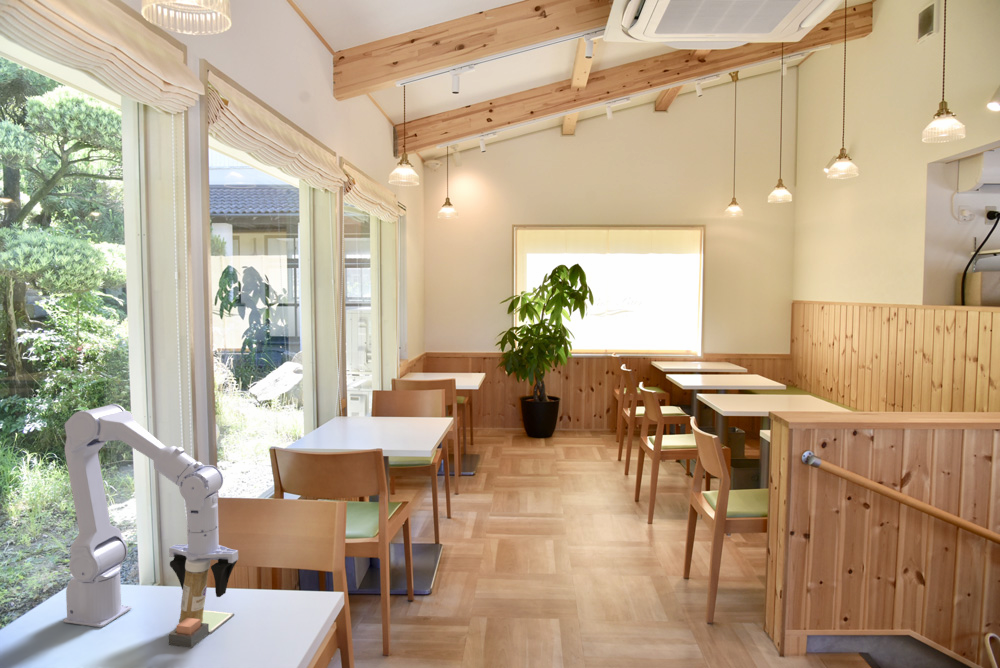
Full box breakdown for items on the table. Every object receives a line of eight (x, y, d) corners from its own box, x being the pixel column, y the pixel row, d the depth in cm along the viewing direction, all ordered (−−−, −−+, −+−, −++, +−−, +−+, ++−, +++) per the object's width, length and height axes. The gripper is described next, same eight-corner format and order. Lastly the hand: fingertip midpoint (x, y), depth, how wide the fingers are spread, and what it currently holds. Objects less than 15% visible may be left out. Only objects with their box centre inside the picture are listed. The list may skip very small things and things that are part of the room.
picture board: (177, 629, 126) (177, 627, 126) (202, 611, 134) (202, 609, 134) (210, 634, 125) (210, 632, 125) (234, 615, 132) (234, 613, 132)
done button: (176, 635, 121) (176, 625, 121) (187, 627, 124) (187, 617, 124) (190, 637, 121) (190, 627, 121) (200, 629, 124) (200, 619, 124)
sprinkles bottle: (201, 627, 126) (209, 563, 126) (176, 628, 125) (184, 563, 124) (204, 615, 131) (212, 553, 130) (180, 616, 129) (188, 553, 128)
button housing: (168, 645, 121) (168, 634, 121) (186, 631, 126) (186, 620, 125) (191, 648, 120) (191, 637, 120) (208, 634, 125) (208, 623, 124)
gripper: (157, 532, 125) (159, 598, 126) (222, 538, 122) (223, 605, 123) (182, 519, 132) (183, 582, 133) (244, 525, 129) (245, 589, 130)
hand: (204, 592), depth 128 cm, fingers open, 7 cm apart
